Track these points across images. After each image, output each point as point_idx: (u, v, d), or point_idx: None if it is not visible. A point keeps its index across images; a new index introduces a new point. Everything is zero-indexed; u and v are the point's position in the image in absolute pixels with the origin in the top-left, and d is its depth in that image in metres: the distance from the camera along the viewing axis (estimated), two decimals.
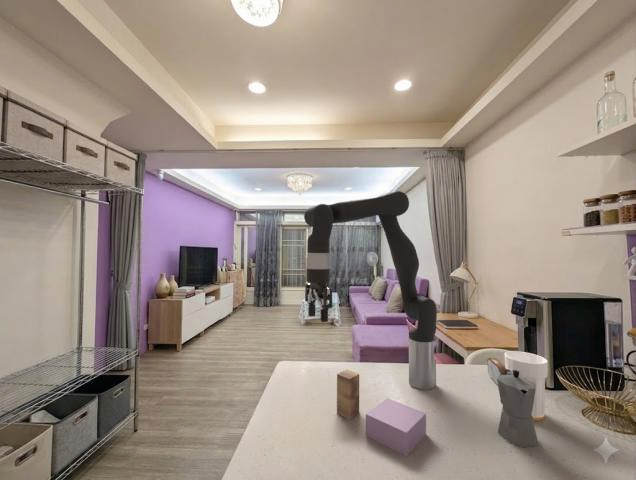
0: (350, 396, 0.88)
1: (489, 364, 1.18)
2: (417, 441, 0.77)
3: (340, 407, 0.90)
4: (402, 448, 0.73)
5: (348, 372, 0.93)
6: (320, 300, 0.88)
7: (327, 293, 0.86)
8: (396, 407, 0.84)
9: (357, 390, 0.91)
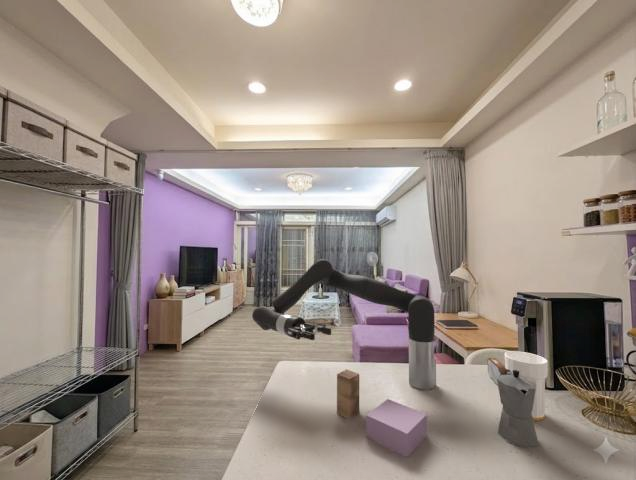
0: (350, 396, 0.88)
1: (489, 364, 1.18)
2: (418, 442, 0.76)
3: (340, 407, 0.90)
4: (402, 450, 0.72)
5: (348, 372, 0.93)
6: None
7: (290, 334, 1.00)
8: (396, 408, 0.83)
9: (357, 390, 0.91)
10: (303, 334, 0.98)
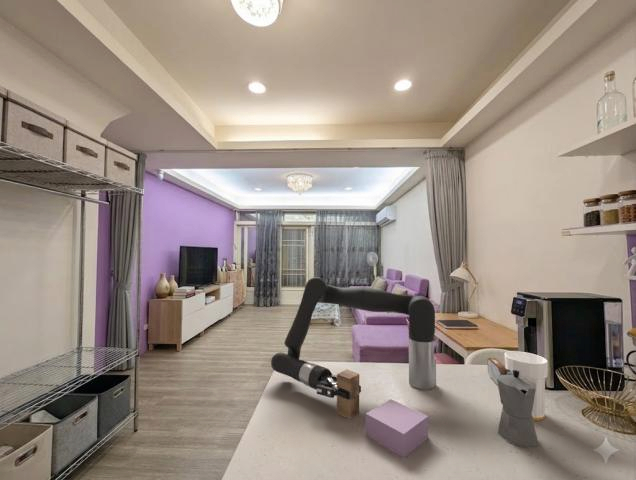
0: (350, 396, 0.88)
1: (489, 364, 1.18)
2: (417, 444, 0.76)
3: (340, 407, 0.90)
4: (399, 450, 0.72)
5: (348, 372, 0.93)
6: None
7: (320, 392, 0.91)
8: (398, 408, 0.83)
9: (357, 390, 0.91)
10: (338, 392, 0.89)
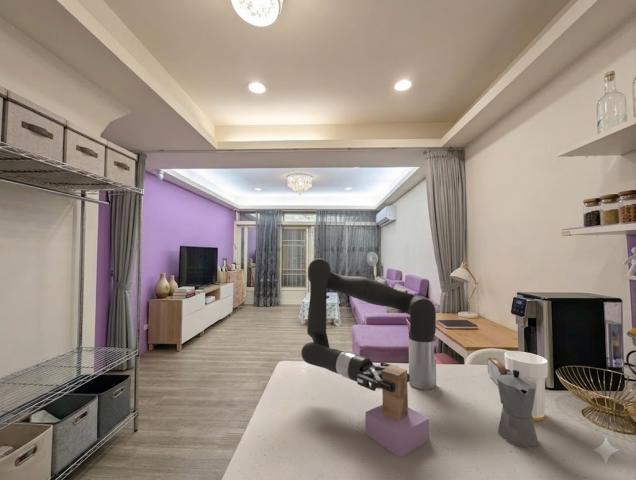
0: (399, 395, 0.78)
1: (489, 364, 1.18)
2: (416, 445, 0.75)
3: (387, 407, 0.80)
4: (396, 449, 0.72)
5: (394, 368, 0.82)
6: None
7: (361, 382, 0.81)
8: None
9: (405, 388, 0.80)
10: (379, 384, 0.78)
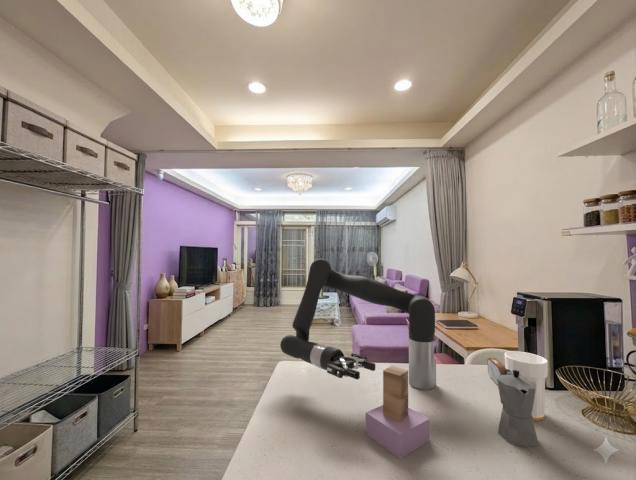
0: (400, 396, 0.77)
1: (489, 364, 1.18)
2: (416, 446, 0.75)
3: (387, 408, 0.79)
4: (396, 450, 0.72)
5: (395, 369, 0.82)
6: None
7: (330, 371, 0.88)
8: None
9: (406, 389, 0.80)
10: (346, 372, 0.86)
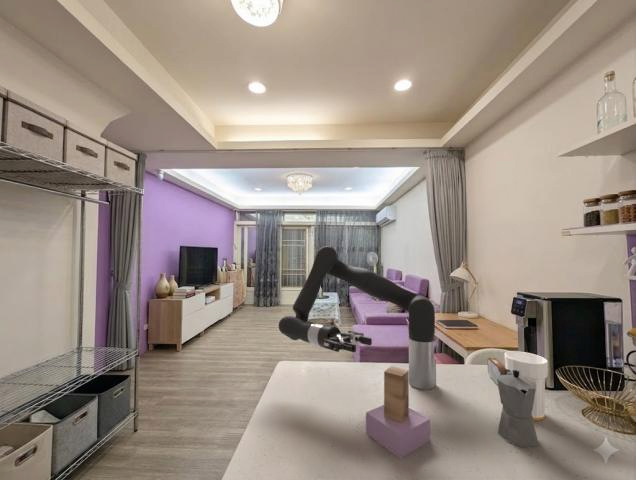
0: (402, 396, 0.77)
1: (489, 364, 1.18)
2: (416, 446, 0.75)
3: (389, 409, 0.79)
4: (396, 450, 0.72)
5: (396, 369, 0.81)
6: None
7: (327, 345, 0.90)
8: None
9: (407, 389, 0.80)
10: (342, 346, 0.87)
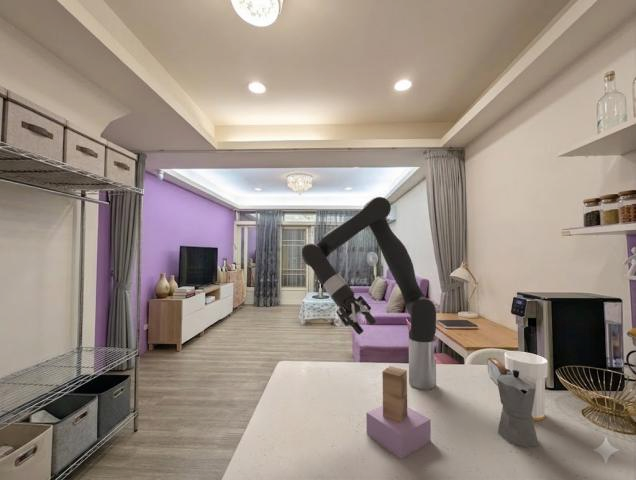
0: (401, 396, 0.77)
1: (489, 364, 1.18)
2: (417, 446, 0.75)
3: (387, 409, 0.78)
4: (397, 450, 0.72)
5: (394, 369, 0.81)
6: None
7: (339, 314, 0.96)
8: None
9: (405, 389, 0.80)
10: (352, 324, 0.95)
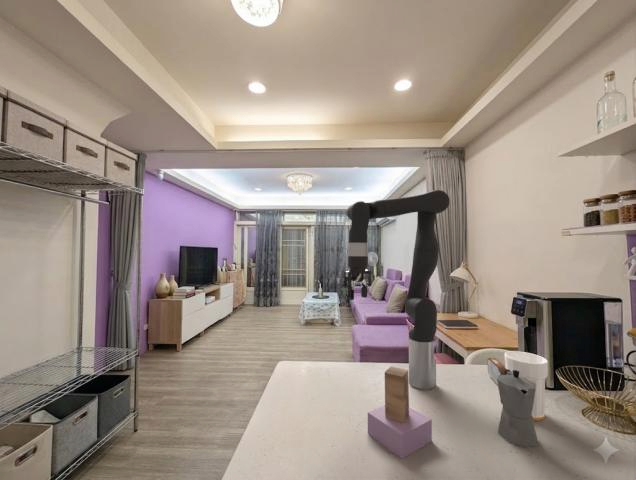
0: (403, 396, 0.77)
1: (489, 364, 1.18)
2: (418, 446, 0.75)
3: (390, 410, 0.78)
4: (398, 450, 0.72)
5: (396, 369, 0.81)
6: None
7: (346, 275, 1.04)
8: None
9: (407, 389, 0.80)
10: (349, 289, 1.05)
